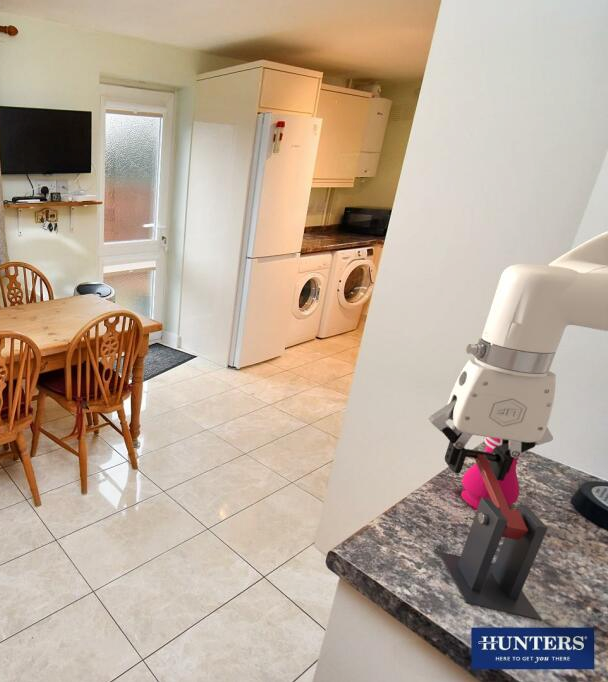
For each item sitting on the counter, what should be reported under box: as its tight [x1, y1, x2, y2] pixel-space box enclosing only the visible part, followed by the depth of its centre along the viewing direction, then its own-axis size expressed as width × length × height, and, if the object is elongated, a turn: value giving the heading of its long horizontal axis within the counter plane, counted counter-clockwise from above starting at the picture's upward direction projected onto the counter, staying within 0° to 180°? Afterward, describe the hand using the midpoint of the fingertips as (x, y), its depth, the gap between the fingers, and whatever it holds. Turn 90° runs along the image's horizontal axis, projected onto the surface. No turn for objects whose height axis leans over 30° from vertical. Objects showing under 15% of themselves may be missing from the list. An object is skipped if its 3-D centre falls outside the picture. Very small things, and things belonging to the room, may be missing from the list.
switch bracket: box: [437, 498, 548, 622], centre depth 58 cm, size 9×8×13 cm
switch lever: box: [465, 448, 528, 540], centre depth 61 cm, size 13×4×2 cm, turn 162°
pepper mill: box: [460, 437, 526, 512], centre depth 73 cm, size 7×7×20 cm
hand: (473, 470), depth 66 cm, fingers closed on switch lever, 4 cm apart
